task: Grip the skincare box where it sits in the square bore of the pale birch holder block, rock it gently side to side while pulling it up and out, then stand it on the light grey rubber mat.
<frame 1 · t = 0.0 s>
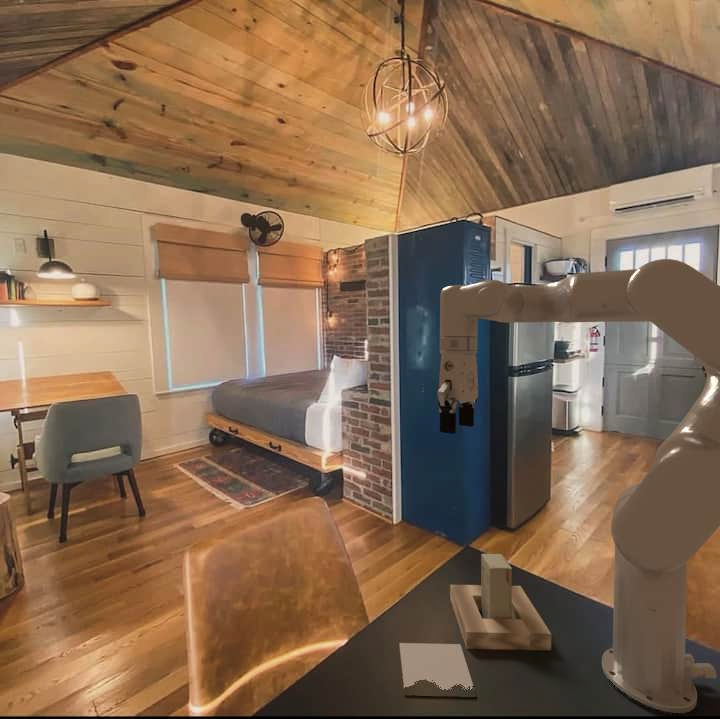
hand: (457, 429, 85), 37 cm above the table, tool pointing down, fingers open, 9 cm apart
skincare box: (495, 623, 81), resting in holder
mat: (434, 669, 69), on the table
holder: (495, 621, 81), on the table
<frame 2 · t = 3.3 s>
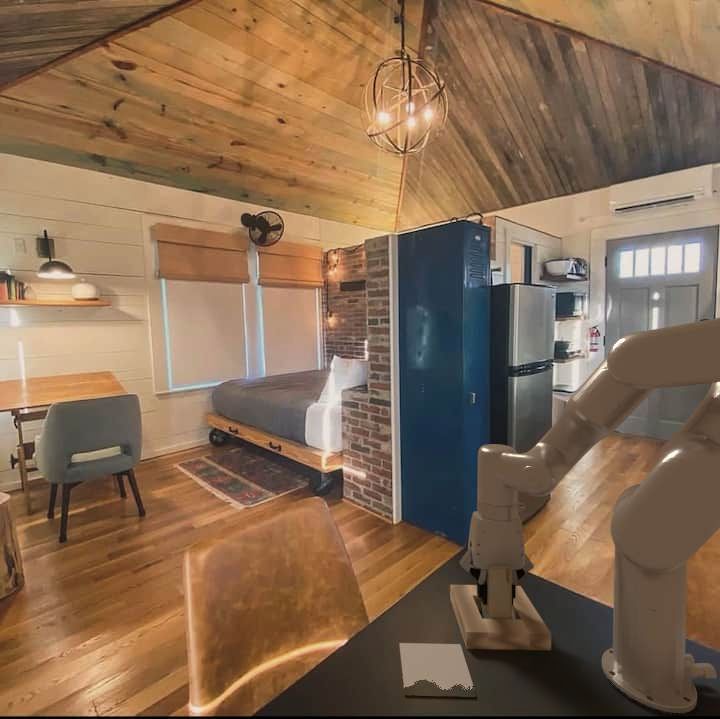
hand: (495, 600, 81), 4 cm above the table, tool pointing down, fingers closed on skincare box, 4 cm apart
skincare box: (495, 622, 81), resting in holder, touching gripper
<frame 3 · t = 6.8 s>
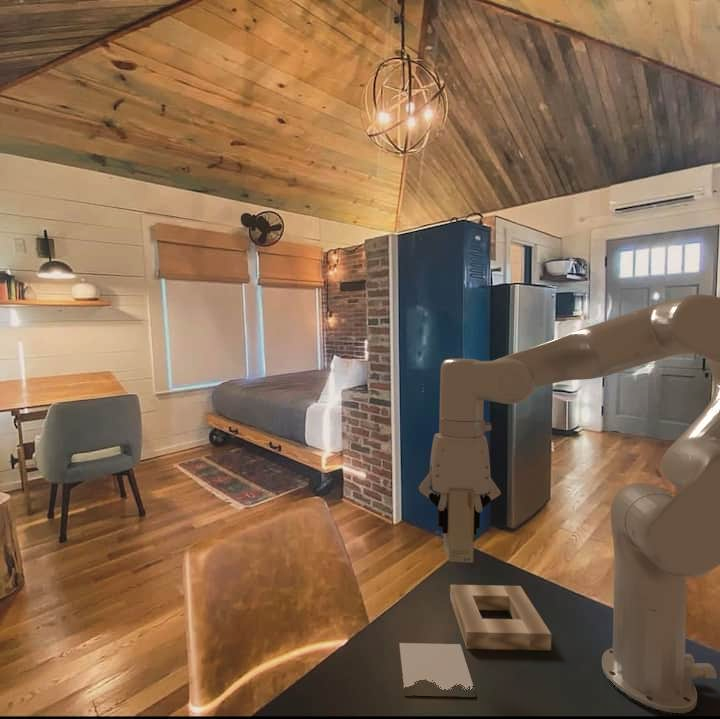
hand: (458, 529, 73), 22 cm above the table, tool pointing down, fingers closed on skincare box, 4 cm apart
skincare box: (457, 555, 73), point 17 cm above the table, touching gripper
when the fingers open (6 cm above the table, at t = 10.5 s): skincare box drops 1 cm, resting on mat.
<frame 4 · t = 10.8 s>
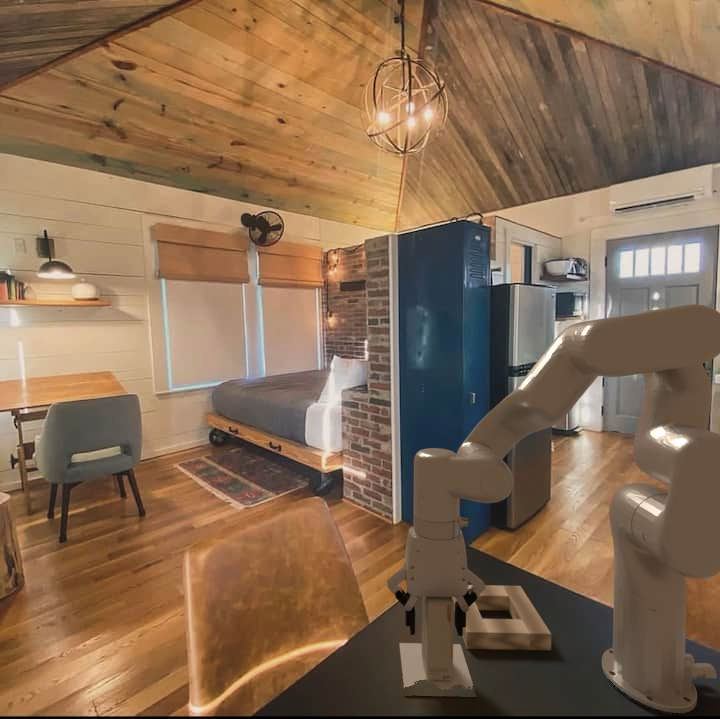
hand: (435, 629, 69), 7 cm above the table, tool pointing down, fingers open, 7 cm apart
skincare box: (436, 667, 69), resting on mat
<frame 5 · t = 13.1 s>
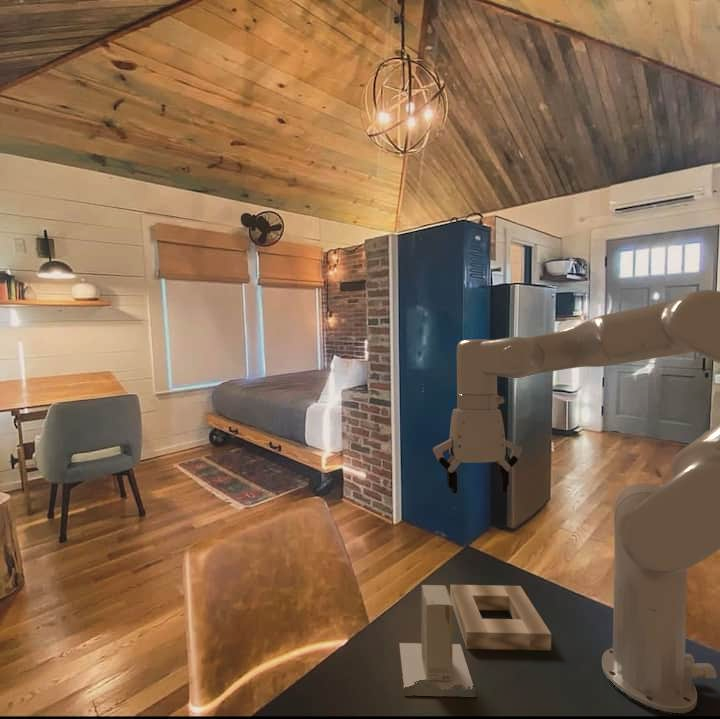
hand: (477, 490, 80), 26 cm above the table, tool pointing down, fingers open, 9 cm apart
nothing on the table moved.
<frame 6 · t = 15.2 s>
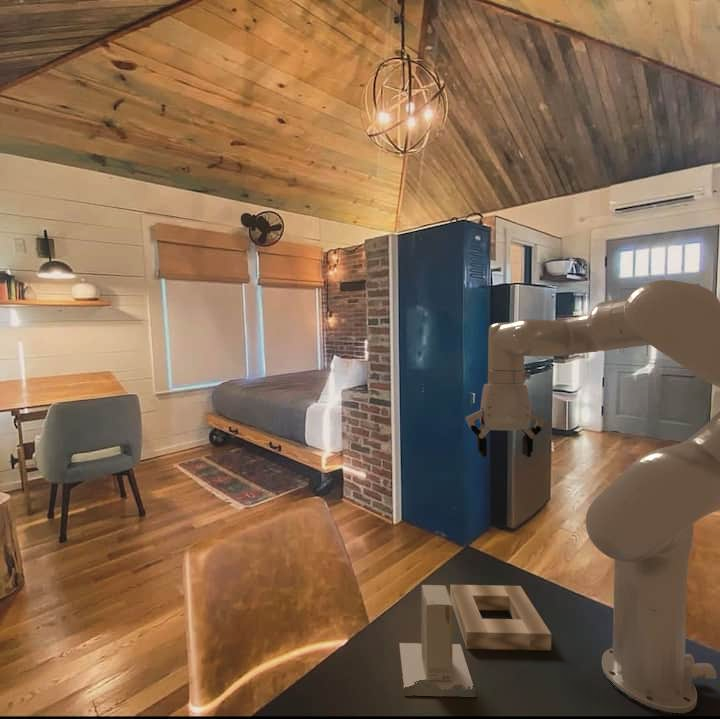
hand: (504, 455, 91), 30 cm above the table, tool pointing down, fingers open, 9 cm apart
nothing on the table moved.
at the end: skincare box inside the target area on the mat (0.2 cm from its centre), point 0.2 cm above the mat's base; skincare box tilted 0°; the gripper is holding nothing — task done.
